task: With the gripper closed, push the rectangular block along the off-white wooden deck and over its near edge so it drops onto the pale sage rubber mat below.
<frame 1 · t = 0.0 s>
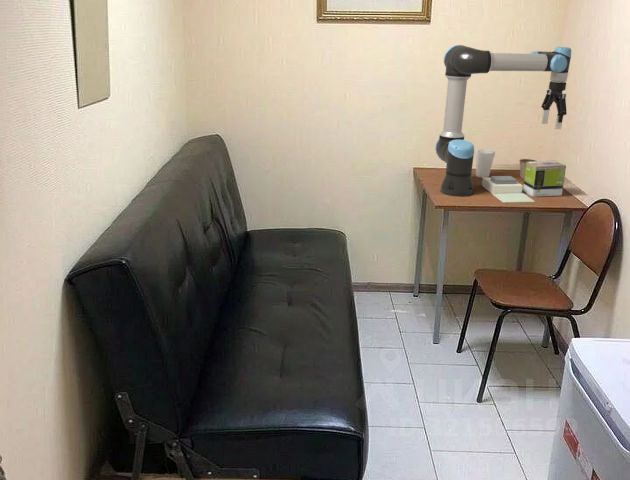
hand: (551, 126, 307), 28 cm above the table, tool pointing down, fingers open, 13 cm apart
mat: (513, 198, 290), on the table
tea box: (541, 194, 299), on the table
flower pot: (526, 178, 324), on the table
rectangular block: (503, 182, 300), point 4 cm above the table, touching deck
foam cup: (482, 176, 325), on the table
deck: (501, 189, 303), on the table
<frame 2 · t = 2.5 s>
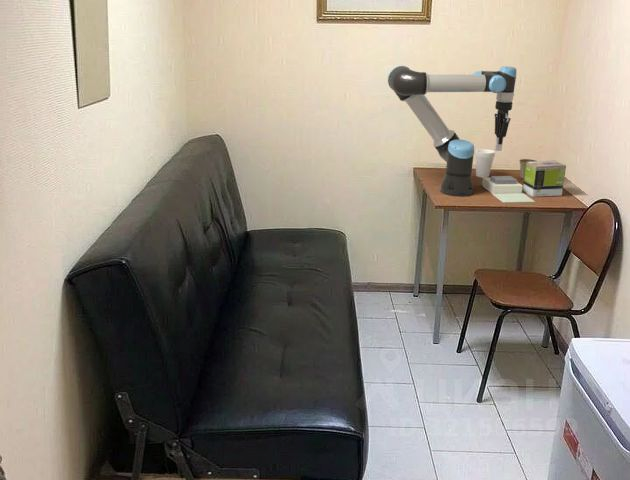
hand: (498, 150, 306), 17 cm above the table, tool pointing down, fingers closed
nothing on the table moved.
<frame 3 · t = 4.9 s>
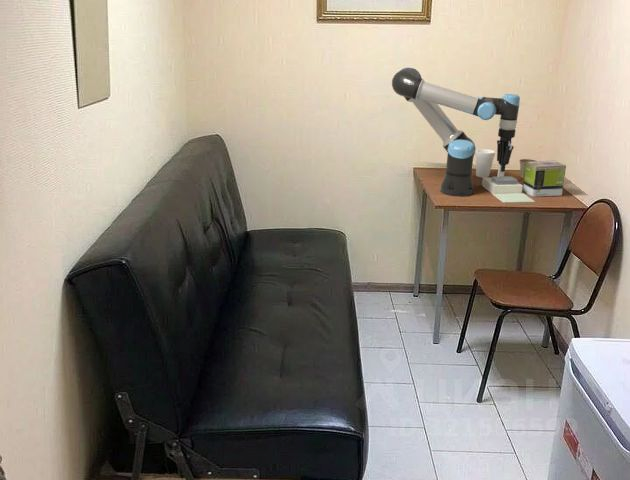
hand: (500, 177, 303), 5 cm above the table, tool pointing down, fingers closed
rectangular block: (504, 182, 300), point 4 cm above the table
everything else where it was.
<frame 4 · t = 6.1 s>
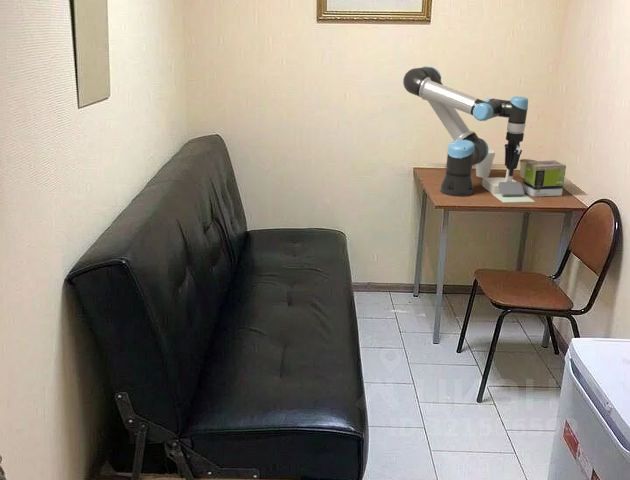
hand: (508, 182, 295), 5 cm above the table, tool pointing down, fingers closed
rectangular block: (510, 190, 293), point 2 cm above the table, tilted 35°, touching gripper
everything else where it was.
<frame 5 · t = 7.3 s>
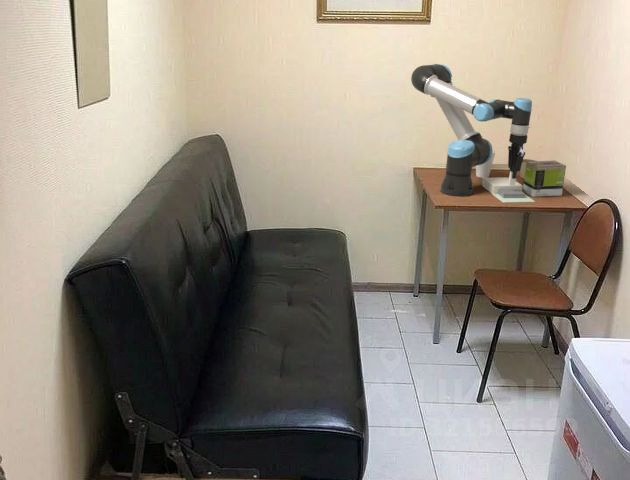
hand: (511, 184, 292), 5 cm above the table, tool pointing down, fingers closed
rectangular block: (511, 195, 292), resting on mat
everything else where it was.
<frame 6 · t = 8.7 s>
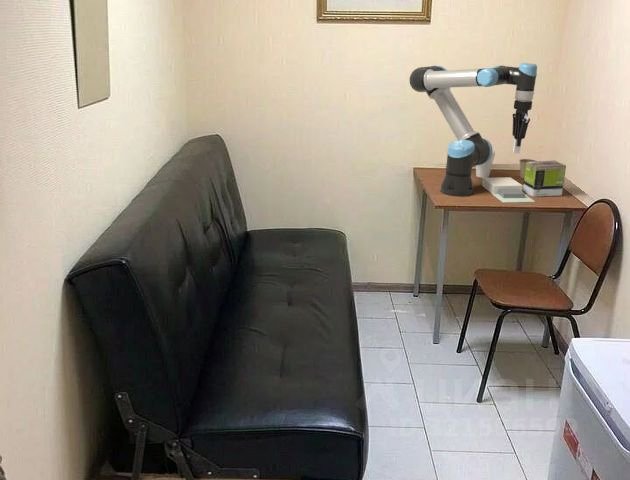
hand: (516, 152, 286), 20 cm above the table, tool pointing down, fingers closed
nothing on the table moved.
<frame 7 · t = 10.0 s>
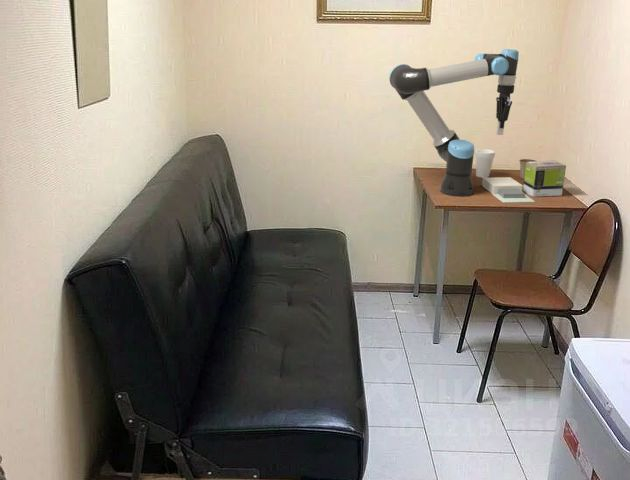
hand: (499, 134, 303), 24 cm above the table, tool pointing down, fingers closed
nothing on the table moved.
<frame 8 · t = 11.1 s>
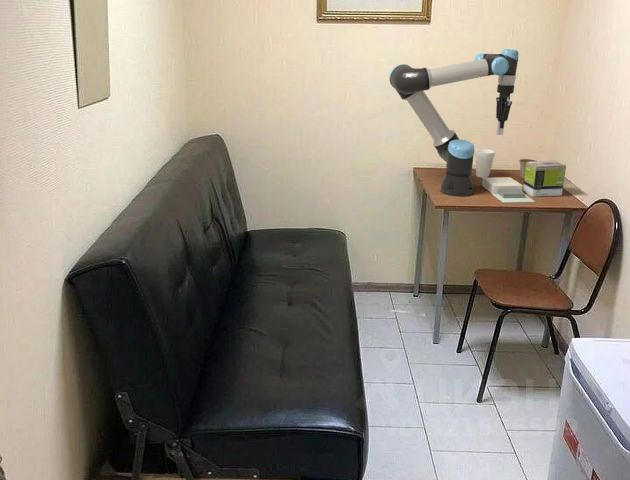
hand: (499, 134, 303), 24 cm above the table, tool pointing down, fingers closed
nothing on the table moved.
at the end: rectangular block inside the target area (2.9 cm from its centre), resting on mat; rectangular block moved 10.7 cm from its start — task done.
